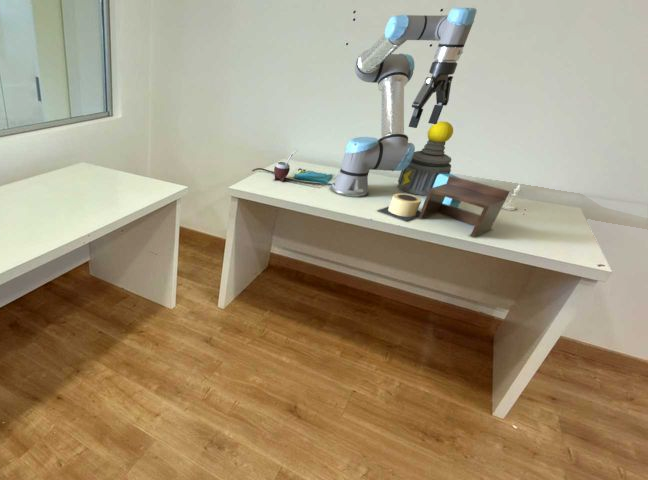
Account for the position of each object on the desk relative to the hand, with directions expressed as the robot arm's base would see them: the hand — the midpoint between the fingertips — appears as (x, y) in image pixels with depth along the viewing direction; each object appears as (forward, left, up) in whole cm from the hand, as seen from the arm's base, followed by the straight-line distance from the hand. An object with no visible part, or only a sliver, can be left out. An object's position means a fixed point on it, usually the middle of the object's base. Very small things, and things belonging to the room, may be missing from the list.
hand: (422, 125), depth 152 cm
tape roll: (+5, -2, -32) cm, 33 cm away
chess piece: (+25, +42, -33) cm, 59 cm away
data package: (+9, +21, -33) cm, 40 cm away
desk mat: (+5, -2, -33) cm, 33 cm away
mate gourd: (-49, -14, -33) cm, 61 cm away
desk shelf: (+22, +5, -33) cm, 39 cm away
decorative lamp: (-7, +32, -33) cm, 46 cm away
